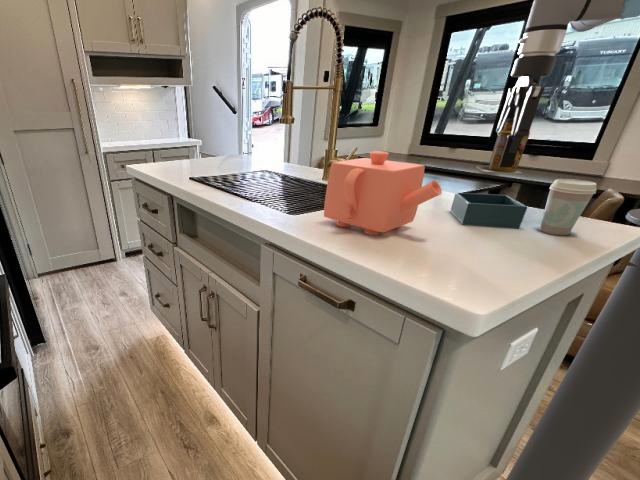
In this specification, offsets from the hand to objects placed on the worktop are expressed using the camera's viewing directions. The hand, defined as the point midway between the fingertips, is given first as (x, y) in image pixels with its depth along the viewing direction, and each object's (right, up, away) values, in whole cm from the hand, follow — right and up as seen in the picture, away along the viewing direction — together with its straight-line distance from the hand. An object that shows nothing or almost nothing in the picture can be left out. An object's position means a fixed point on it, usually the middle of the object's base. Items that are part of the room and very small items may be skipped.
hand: (500, 164), depth 91 cm
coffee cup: (+12, -18, -2) cm, 21 cm away
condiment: (0, -1, +1) cm, 2 cm away
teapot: (-31, -17, 0) cm, 35 cm away
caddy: (0, -12, +7) cm, 14 cm away
